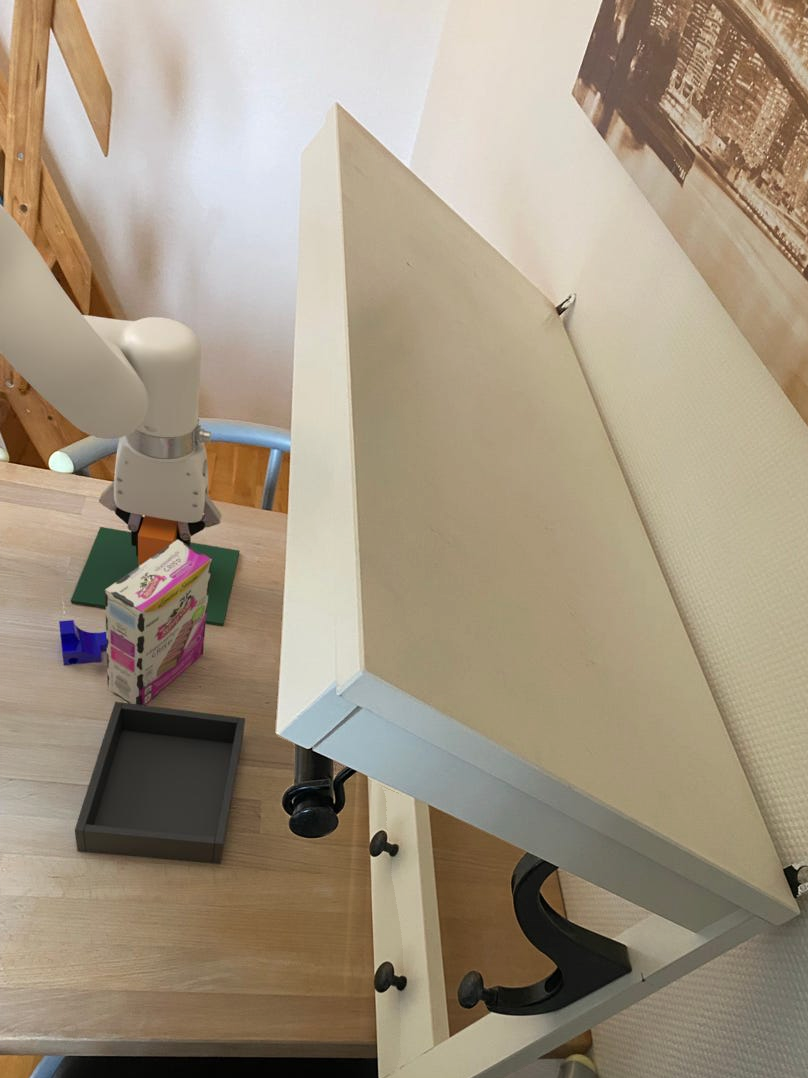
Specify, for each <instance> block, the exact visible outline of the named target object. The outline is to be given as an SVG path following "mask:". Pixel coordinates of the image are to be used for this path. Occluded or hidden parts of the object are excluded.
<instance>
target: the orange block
mask: <svg viewBox="0 0 808 1078" xmlns="http://www.w3.org/2000/svg"><path fill="white" fill-rule="evenodd" d="M143 517H144V519H143V522H142V525H141V528H140V531H139V534H138V564H139V566H140V565H141V564H143V563H144V562H146V561H147V560H149V559H150V558H152V557H153V556H154V555H156V554H157V553H159V552H160V551H162V550H163V549H165V548H166V547H167V546H169V545H170V544H172V543H173V542H175V541H176V539H177V535H178V532H179V529H178V525H177V521H174V520H168V519H162V518H156V517H150V516H145V515H144V516H143Z"/></svg>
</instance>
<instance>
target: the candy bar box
mask: <svg viewBox="0 0 808 1078" xmlns="http://www.w3.org/2000/svg"><path fill="white" fill-rule="evenodd" d="M211 561H212V559H210V558H209V557H207V556H206V555H204V554H202V553H200V552H198V551H196V550H194V549H193V548H191V547H189V546H188V545H187V544H185V543H183V542H181V541H180V540H176V541H175V542H173V543H172V544H170V545H169V546H167V547H166V548H165V549H163V550H162V551H160V552H159V553H157V554H156V555H154V556H153V557H152V558H150V559H149V560H147V561H146V562H144V563H143V564H141V565H140V566H139V567H137V568H136V569H134V570H133V571H131V572H130V573H128V574H127V575H125V576H124V577H123V578H121V579H120V580H118V581H117V582H115V583H114V584H113V585H111V586H110V587H108V588H107V589H105V605H106V608H105V632H106V638H107V651H106V663H107V664H106V673H107V690H108V691H109V692H111V693H113V694H114V695H116V696H117V697H119V698H120V699H122V700H123V701H126V703H130V704H138V705H146V706H147V705H148V704H149V703H150V702H151V701H152V700H154V699H155V698H156V696H158V695H159V694H160V693H161V692H162V691H164V690H165V688H167V687H168V686H169V685H170V684H172V682H173V681H175V680H176V679H177V678H178V677H179V676H180V675H182V674H183V673H185V671H186V670H187V669H189V667H190V666H192V665H193V664H194V663H195V662H196V661H197V660H198V659H200V658H201V657H202V656H203V655H204V646H205V645H204V644H205V635H206V612H207V602H208V594H209V582H210V571H211Z"/></svg>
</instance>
